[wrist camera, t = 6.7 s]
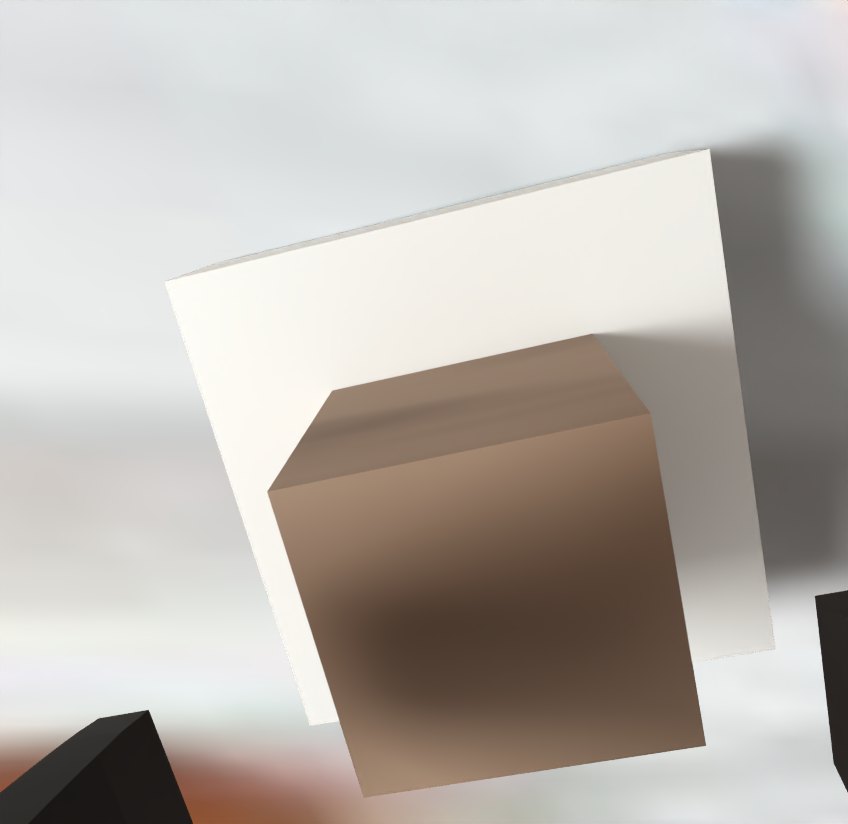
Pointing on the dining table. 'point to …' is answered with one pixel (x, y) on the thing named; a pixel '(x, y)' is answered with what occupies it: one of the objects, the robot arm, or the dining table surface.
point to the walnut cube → (490, 570)
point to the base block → (490, 335)
